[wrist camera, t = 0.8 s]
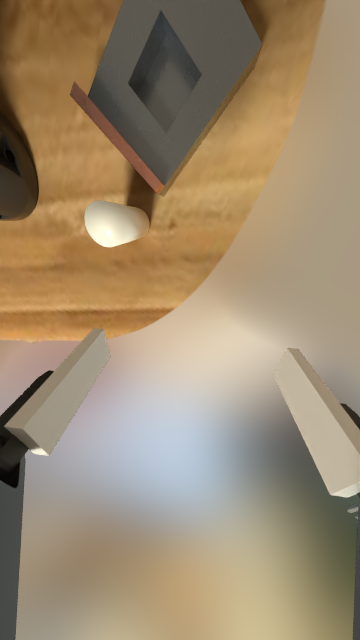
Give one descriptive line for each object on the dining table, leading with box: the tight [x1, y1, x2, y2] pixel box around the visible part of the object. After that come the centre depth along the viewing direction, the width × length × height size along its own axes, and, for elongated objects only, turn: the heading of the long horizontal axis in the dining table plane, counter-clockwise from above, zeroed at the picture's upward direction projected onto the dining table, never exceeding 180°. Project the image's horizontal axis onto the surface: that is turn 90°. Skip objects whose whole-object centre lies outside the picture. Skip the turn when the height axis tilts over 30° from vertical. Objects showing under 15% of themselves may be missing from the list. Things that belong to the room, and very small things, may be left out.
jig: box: [70, 0, 262, 196], centre depth 18 cm, size 12×16×5 cm
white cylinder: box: [85, 201, 150, 247], centre depth 23 cm, size 5×5×11 cm
